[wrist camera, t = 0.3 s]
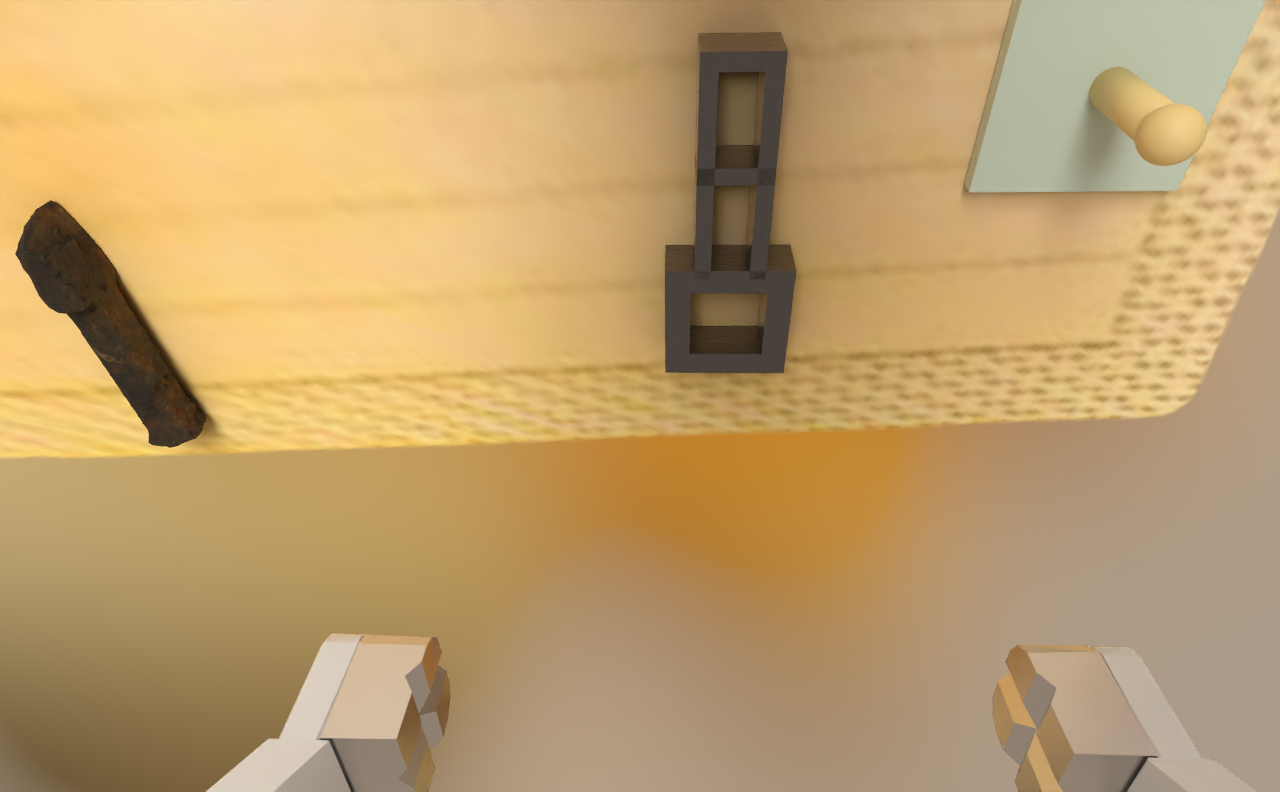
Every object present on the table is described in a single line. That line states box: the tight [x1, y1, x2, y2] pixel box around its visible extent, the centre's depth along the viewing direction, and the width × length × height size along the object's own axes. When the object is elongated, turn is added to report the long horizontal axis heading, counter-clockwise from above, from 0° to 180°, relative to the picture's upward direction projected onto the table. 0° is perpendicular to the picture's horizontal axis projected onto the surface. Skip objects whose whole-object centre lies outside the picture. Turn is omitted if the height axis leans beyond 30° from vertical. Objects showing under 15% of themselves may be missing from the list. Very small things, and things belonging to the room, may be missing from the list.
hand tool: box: [16, 201, 206, 448], centre depth 53 cm, size 19×4×5 cm, turn 3°
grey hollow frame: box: [665, 32, 796, 373], centre depth 47 cm, size 21×8×3 cm, turn 1°
